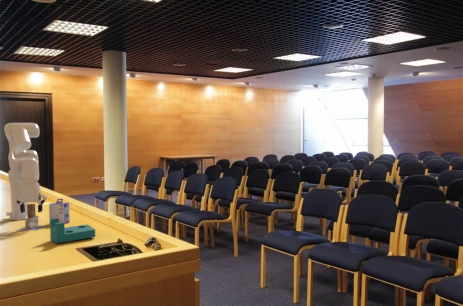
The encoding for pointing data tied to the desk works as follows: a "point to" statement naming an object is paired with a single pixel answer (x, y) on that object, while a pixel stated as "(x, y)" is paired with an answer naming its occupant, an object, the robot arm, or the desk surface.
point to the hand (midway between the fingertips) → (31, 212)
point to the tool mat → (31, 229)
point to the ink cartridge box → (59, 211)
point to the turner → (31, 217)
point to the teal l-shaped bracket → (69, 232)
